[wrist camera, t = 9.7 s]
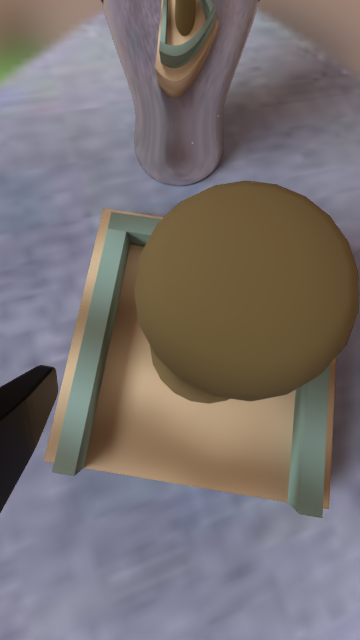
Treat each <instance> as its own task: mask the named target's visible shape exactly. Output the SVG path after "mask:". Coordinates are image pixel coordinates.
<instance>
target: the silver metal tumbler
mask: <svg viewBox="0 0 360 640" xmlns="http://www.w3.org/2000/svg"><path fill="white" fill-rule="evenodd" d="M100 1H101V4H102V8H103V11H104V14H105V18H106V21H107V24H108V27H109V30H110V33H111V36H112V39H113V42H114V45H115V48H116V51H117V54H118V57H119V59H120V62H121V65H122V68H123V71H124V74H125V76H126V79H127V82H128V86H129V89H130V92H131V95H132V99H133V104H134V109H135V134H134V149H135V155H136V158H137V160H138V162H139V164H140V166H141V167H142V169H143V170H144V171H145V172H146V173H147V174H148V175H149V176H151V177H152V178H154V179H155V180H157V181H160V182H162V183H165V184H169V185H189V184H193V183H196V182H199V181H201V180H203V179H204V178H206V177H207V176H209V175H210V174H211V173H212V172H213V171H214V170H215V168H216V167H217V166H218V164H219V162H220V159H221V156H222V152H223V127H222V115H223V108H224V104H225V100H226V96H227V94H228V91H229V88H230V85H231V82H232V79H233V77H234V74H235V71H236V68H237V66H238V63H239V60H240V58H241V55H242V52H243V49H244V47H245V44H246V41H247V38H248V36H249V33H250V30H251V27H252V24H253V21H254V18H255V15H256V12H257V8H258V5H259V2H260V0H100Z"/></svg>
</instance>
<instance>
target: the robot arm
mask: <svg viewBox="0 0 360 640" xmlns="http://www.w3.org/2000/svg"><path fill="white" fill-rule="evenodd" d="M57 394H58V383H57V375H56V370H55V368H54V367H50V366H44V365H39V366H37V367H35V368H33V369H31V370H30V371H28V372H26V373H24V374H23V375H21V376H19V377H17V378H15V379H14V380H12V381H10V382H8V383H7V384H5V385H3V386H1V387H0V513H1V511H2V509H3V507H4V505H5V504H6V502H7V500H8V498H9V496H10V494H11V493H12V491H13V489H14V487H15V485H16V483H17V482H18V480H19V478H20V476H21V474H22V472H23V471H24V469H25V467H26V465H27V463H28V461H29V459H30V458H31V456H32V454H33V452H34V450H35V448H36V446H37V443H38V441H39V439H40V436H41V434H42V432H43V429H44V427H45V424H46V422H47V419H48V417H49V415H50V412H51V410H52V407H53V405H54V402H55V400H56V397H57Z"/></svg>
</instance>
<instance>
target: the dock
mask: <svg viewBox="0 0 360 640" xmlns="http://www.w3.org/2000/svg"><path fill="white" fill-rule="evenodd" d="M163 218H164V217H158V216H151V215H145V214H138V213H131V212H124V211H118V210H111V209H104V208H103V212H102V216H101V220H100V225H99V229H98V233H97V237H96V242H95V246H94V250H93V254H92V259H91V263H90V267H89V271H88V276H87V280H86V284H85V288H84V293H83V297H82V301H81V305H80V310H79V314H78V318H77V322H76V327H75V331H74V335H73V340H72V344H71V348H70V352H69V357H68V361H67V365H66V369H65V374H64V378H63V382H62V386H61V391H60V395H59V399H58V403H57V408H56V412H55V416H54V420H53V425H52V429H51V433H50V437H49V442H48V446H47V450H46V454H45V459H44V461H46V462H52V463H54V466H53V470H52V472H54V473H60V474H66V475H71V476H75V475H76V474H77V473H78V472H79V471H81V470H82V469H83V468H87V469H93V470H99V471H105V472H111V473H117V474H123V475H129V476H135V477H141V478H147V479H153V480H159V481H165V482H171V483H176V484H182V485H188V486H194V487H200V488H206V489H212V490H218V491H224V492H230V493H236V494H242V495H248V496H254V497H259V498H265V499H271V500H277V501H283V502H288V503H289V504H290V505H291V506H292V507H293V508H294V509H295V510H296V511H297V512H298V513H299V514H302V515H308V516H313V517H319V518H322V513H323V508H325V509H329V499H330V478H331V457H332V436H333V415H334V394H335V373H336V357H335V358H334V360H333V361H332V362H331V363H330V364H329V366H328V367H327V368H326V369H325V370H324V371H323V372H322V373H321V374H320V375H319V376H318V377H316V378H315V379H313V380H311V381H309V382H308V383H306V384H304V385H302V386H301V387H299V388H297V389H296V390H294V391H292V392H290V393H289V394H287V395H282V396H277V397H272V398H267V399H261V400H256V401H244V400H236V399H229V400H226V401H221V402H216V403H211V404H207V403H200V402H193V401H189V400H187V399H185V398H183V397H181V396H179V395H177V394H175V393H174V392H173V391H172V390H171V389H170V388H169V387H168V386H167V385H165V384H164V383H163V382H162V381H161V379H160V377H159V375H158V373H157V371H156V369H155V367H154V366H153V363H152V356H151V350H150V344H149V342H148V340H147V338H146V337H145V335H144V333H143V331H142V329H141V327H140V325H139V321H138V314H137V308H136V302H135V295H134V287H135V282H136V276H137V270H138V264H139V259H140V256H141V253H142V250H143V249H144V247H145V245H146V243H147V241H148V240H149V238H150V236H151V234H152V232H153V230H154V229H155V227H156V225H157V223H158V222H159V221H160V220H161V219H163Z"/></svg>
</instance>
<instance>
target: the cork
mask: <svg viewBox="0 0 360 640" xmlns="http://www.w3.org/2000/svg"><path fill="white" fill-rule="evenodd" d="M134 295H135V302H136V308H137V314H138V321H139V325H140V327H141V329H142V331H143V333H144V335H145V337H146V338H147V340H148V342H149V344H150V350H151V356H152V363H153V366H154V367H155V369H156V371H157V373H158V375H159V377H160V379H161V381H162V382H163V383H164V384H165V385H167V386H168V387H169V388H170V389H171V390H172V391H173V392H174V393H175V394H177V395H179V396H181V397H183V398H185V399H187V400H189V401H193V402H200V403H207V404H211V403H216V402H221V401H226V400H229V399H236V400H244V401H256V400H261V399H267V398H272V397H277V396H282V395H287V394H289V393H290V392H292V391H294V390H296V389H297V388H299V387H301V386H302V385H304V384H306V383H308V382H309V381H311V380H313V379H315V378H316V377H318V376H319V375H320V374H321V373H322V372H323V371H324V370H325V369H326V368H327V367H328V366H329V364H330V363H331V362H332V361H333V360H334V358H335V357H336V356H337V355H338V354H339V353H340V351H341V350H342V349H343V348H344V347H345V345H346V344H347V341H348V339H349V336H350V333H351V331H352V328H353V325H354V322H355V320H356V317H357V314H358V271H357V267H356V264H355V261H354V258H353V255H352V252H351V249H350V246H349V243H348V241H347V239H346V238H345V237H344V235H343V234H342V232H341V231H340V229H339V228H338V227H337V225H336V224H335V222H334V221H333V220H332V218H331V217H330V216H329V215H328V214H327V213H326V212H324V211H323V210H322V209H320V208H319V207H318V206H317V205H315V204H314V203H313V202H312V201H310V200H309V199H308V198H307V197H305V196H303V195H300V194H298V193H296V192H293V191H291V190H288V189H286V188H284V187H281V186H279V185H276V184H268V183H260V182H252V181H241V182H234V183H228V184H221V185H215V186H213V187H211V188H208V189H206V190H204V191H202V192H200V193H198V194H196V195H194V196H192V197H190V198H187V199H185V200H183V201H181V202H180V203H179V204H178V205H177V206H175V207H174V208H173V209H172V210H171V211H170V212H169V213H168V214H167V215H166V216H165V217H164V218H163V219H161V220H160V221H159V222H158V223H157V225H156V227H155V229H154V230H153V232H152V234H151V236H150V238H149V240H148V241H147V243H146V245H145V247H144V249H143V250H142V253H141V256H140V259H139V264H138V270H137V276H136V282H135V287H134Z"/></svg>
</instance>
